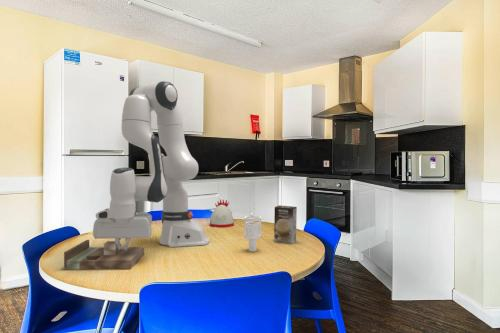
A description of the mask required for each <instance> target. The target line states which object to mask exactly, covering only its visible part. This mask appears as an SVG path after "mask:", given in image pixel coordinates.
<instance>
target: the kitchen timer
mask: <svg viewBox="0 0 500 333" xmlns="http://www.w3.org/2000/svg"><path fill="white" fill-rule="evenodd" d="M216 202H217V203H214V205H215V208H214V209H213V211H212V213H211V216H210V218H209V226H210V227H211V228H219V229H220V228H222V229H223V228H224V229H225V228H231V227H234V226H235V220H234V216H233V211H231V210H230V208H229V207H228V206H229V204H230V201H228V200H227V199H225V201H224V199H220V200H219V201H216Z"/></svg>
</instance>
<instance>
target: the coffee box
mask: <svg viewBox="0 0 500 333" xmlns="http://www.w3.org/2000/svg"><path fill="white" fill-rule="evenodd" d="M297 210H298V209H297V206H291V205H290V206H289V205H277V206H275V207H274V222H273V223H274V226H273V227H274V228H273V232H274V233H273V234H274V235H273V242H275V243H280V244H281V243H283V244H291V245H294V243H296V242H297V214H298V213H297Z"/></svg>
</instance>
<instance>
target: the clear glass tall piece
mask: <svg viewBox="0 0 500 333" xmlns="http://www.w3.org/2000/svg"><path fill="white" fill-rule="evenodd" d="M243 217H244V218H243V231H244V232H243V238H245V239H247V240H248V251H249V252H256V251H257V240H258V239H261V238H262V216H261V215H260V216H259V215H254V213H251V212H249V215H246V216H243Z"/></svg>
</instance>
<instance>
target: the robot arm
mask: <svg viewBox="0 0 500 333" xmlns="http://www.w3.org/2000/svg"><path fill="white" fill-rule="evenodd" d="M178 97H179V96H178V90H177V88H176V87H175V85H174V84H173V83H172V82H171V81H162V80H161V81H159V82H158V81H157V82H150V83H147V84H143V85H141V86H140V85H139V86H136V87H134V88H133V89H131V90H130V92H129V94H128V96H127V97H126V98H125V100H124V104H123V108H122V114H121V135H122V136H123V138H124V139H125V141H127V142H128V143H129V144H131V145H133V146H136V147H139V148H141V149H143V150H144V151H145V152H146V153H147V154H148V158H149V164H150V165H149V166H150V172H151V173H150V174H151V175H150V176H149V175H148V176H141V175H140V176H139V175H136V174H135V170H134V169H133V168H131V167H119V168H115V169H114V170H112V171H111V175H110V179H109V180H110V181H109V195H110V202H109V207H108V208H105V209H103V210H100V211H98V212H97V213H95V218H96V219H95V221H94V222H93V227H92V236H93V238H94V239H97V240H98V239H99V240H100V239H106V240H107V239H114V241H115V242H116V244H117V245H118V251H127V249H128V247H129V244H130V242H131V240H132V239H149V238H150V237H151V236H152V232H153V230H152V223H153V222H152V221H153V216H152V214H150V213H149V212H145V211H144V212H141V211H140V212H139V211H138V212H136V211H137V210H136V209H137V208H136V207H137V206H136V205H137V203H136V202H150V203H159V202H161V201H162V211H161V224H162V225H161V233H160V234H161V235H160V238H159V242H158V243H159V244H160V245H163V246H167V247H170V248H175V247H176V248H177V247H193V246H195V247H196V246H197V247H198V246H206V245H208V244H209V243H210V237H209V236H207V235H206V234H205V229H204V226H203V225H201V224H200V223H198V222H197V221H196V220H195V219H193V216H194V214H193V212H192V211H190V210H189V206H188V205H189V193H188V191H186V189H185V188H184V185H183V182H184V181H189V180H193V179H194V178H196V177H197V175H198V173H199V163H198V161H197V160H196V159H195V157H193V156H192V155H191V152H190V151H189V149H188V146H187V143H186V139H185V132H184V131H185V130H184V125H183V124H184V123H183V117H182V114H181V110H180V106H179V104H178ZM152 111H154V112H155V114H156V126H157V134H158V136H157V135H155V134H154V132H153V129H152ZM161 147H162V148H163V149H164V152H165V154H166V156H165V155H164V156H162V149H161ZM121 239H124V240H125V244H122V243H121Z"/></svg>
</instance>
